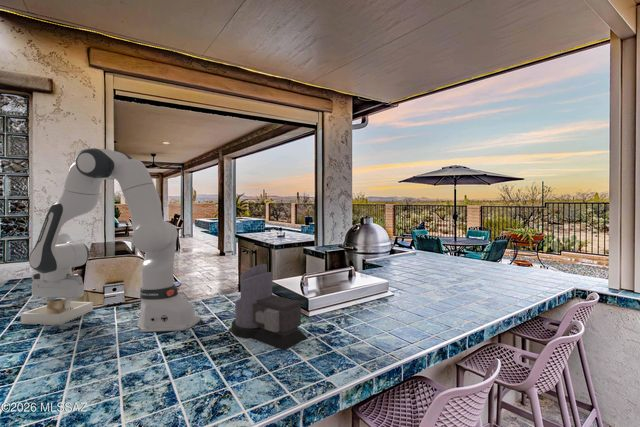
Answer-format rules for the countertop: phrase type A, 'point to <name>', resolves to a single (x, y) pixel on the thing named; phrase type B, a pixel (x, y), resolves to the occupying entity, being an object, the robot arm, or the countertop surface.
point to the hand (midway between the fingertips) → (58, 307)
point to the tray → (43, 318)
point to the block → (56, 306)
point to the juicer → (266, 312)
